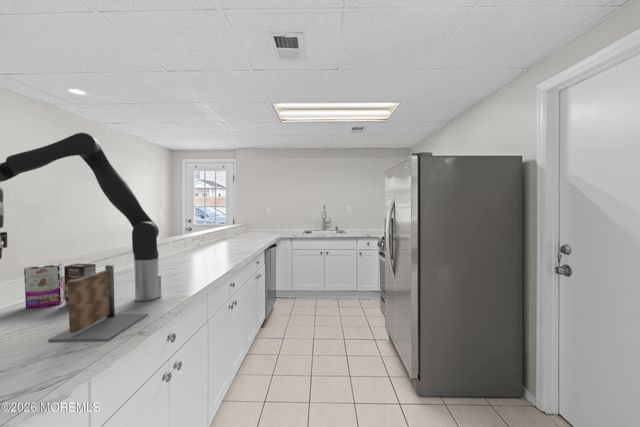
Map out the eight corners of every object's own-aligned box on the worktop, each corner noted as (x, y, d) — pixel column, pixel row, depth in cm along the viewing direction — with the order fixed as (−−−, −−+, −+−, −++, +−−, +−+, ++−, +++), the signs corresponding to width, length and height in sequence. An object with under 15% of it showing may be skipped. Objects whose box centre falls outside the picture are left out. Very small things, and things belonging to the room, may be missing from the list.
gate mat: (99, 315, 117) (99, 314, 117) (148, 315, 117) (148, 313, 117) (48, 341, 95) (48, 339, 95) (109, 340, 95) (109, 338, 95)
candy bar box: (64, 301, 135) (62, 262, 134) (60, 304, 130) (59, 264, 130) (29, 305, 130) (28, 265, 129) (25, 309, 125) (23, 267, 125)
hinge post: (109, 317, 115) (108, 264, 114) (116, 317, 115) (114, 264, 114) (105, 319, 113) (103, 266, 112) (112, 319, 113) (110, 266, 112)
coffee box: (63, 305, 129) (62, 266, 129) (77, 300, 135) (76, 263, 135) (84, 306, 128) (83, 266, 128) (97, 301, 134) (96, 263, 134)
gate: (104, 314, 112) (103, 270, 112) (110, 314, 112) (109, 270, 112) (68, 333, 96) (66, 282, 95) (75, 332, 96) (73, 282, 95)
